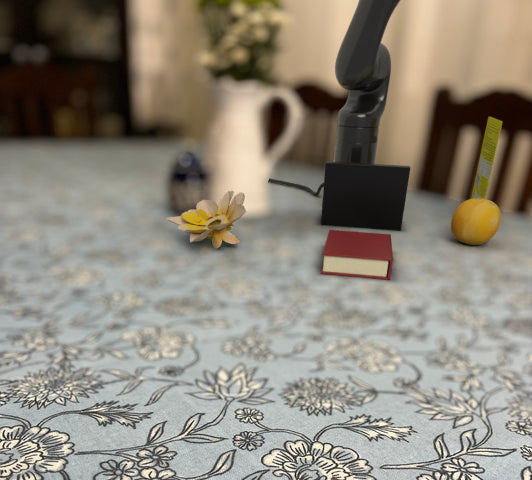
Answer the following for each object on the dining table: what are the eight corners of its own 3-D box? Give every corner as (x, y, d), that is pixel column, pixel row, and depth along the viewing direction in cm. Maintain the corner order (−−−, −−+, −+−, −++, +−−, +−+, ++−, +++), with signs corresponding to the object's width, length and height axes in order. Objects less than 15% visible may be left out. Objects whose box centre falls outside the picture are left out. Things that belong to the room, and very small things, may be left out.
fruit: (488, 252, 91) (499, 207, 88) (442, 244, 95) (451, 200, 91) (498, 241, 98) (508, 198, 94) (455, 234, 102) (463, 192, 98)
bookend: (400, 230, 103) (410, 167, 97) (320, 224, 105) (325, 162, 99) (399, 222, 109) (408, 162, 103) (323, 216, 111) (328, 157, 105)
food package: (481, 226, 107) (505, 121, 98) (476, 226, 108) (499, 121, 98) (471, 210, 121) (491, 116, 111) (466, 210, 121) (485, 116, 111)
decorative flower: (159, 222, 96) (169, 167, 92) (216, 231, 101) (228, 180, 97) (179, 251, 85) (192, 190, 80) (242, 260, 90) (257, 203, 85)
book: (390, 279, 78) (393, 259, 76) (320, 273, 79) (322, 253, 78) (388, 252, 90) (390, 234, 88) (327, 247, 91) (329, 229, 90)
